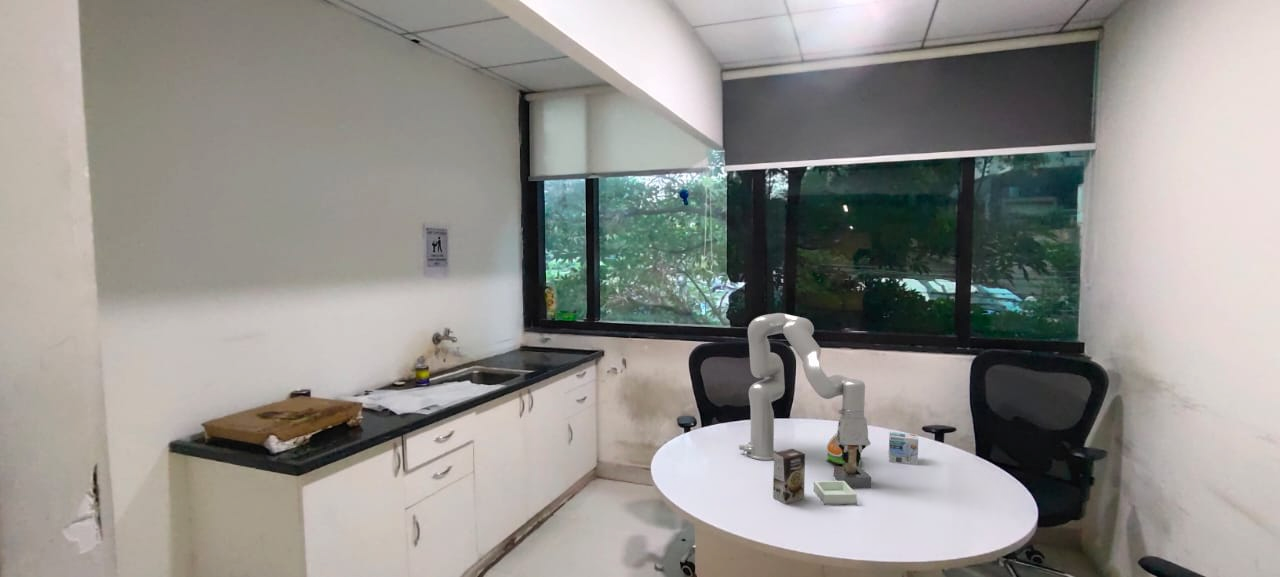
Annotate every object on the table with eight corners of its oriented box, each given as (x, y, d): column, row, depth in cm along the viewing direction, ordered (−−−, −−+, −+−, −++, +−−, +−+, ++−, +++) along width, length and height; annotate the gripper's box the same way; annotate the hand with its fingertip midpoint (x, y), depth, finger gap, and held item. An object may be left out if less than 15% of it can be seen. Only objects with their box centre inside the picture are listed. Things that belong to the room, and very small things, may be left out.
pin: (846, 478, 201) (848, 447, 200) (842, 473, 205) (843, 442, 204) (858, 478, 201) (860, 447, 200) (854, 473, 205) (855, 442, 204)
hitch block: (843, 488, 198) (843, 477, 198) (833, 476, 208) (833, 466, 208) (871, 488, 198) (871, 477, 198) (859, 476, 208) (859, 466, 208)
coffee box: (785, 504, 186) (785, 458, 185) (772, 497, 191) (772, 452, 190) (805, 498, 190) (805, 453, 189) (792, 491, 196) (792, 447, 194)
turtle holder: (874, 462, 222) (875, 433, 221) (845, 472, 212) (845, 442, 211) (848, 453, 232) (849, 425, 231) (819, 461, 223) (820, 433, 222)
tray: (824, 504, 185) (824, 494, 185) (813, 490, 196) (813, 481, 196) (856, 504, 185) (856, 494, 185) (843, 490, 196) (844, 480, 196)
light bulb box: (888, 462, 222) (889, 436, 221) (888, 456, 228) (888, 431, 228) (918, 465, 218) (919, 439, 217) (916, 459, 224) (917, 434, 224)
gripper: (834, 416, 197) (832, 465, 199) (879, 416, 198) (877, 465, 199) (827, 410, 205) (825, 457, 206) (870, 410, 205) (868, 457, 207)
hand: (851, 461), depth 203 cm, fingers closed on pin, 3 cm apart
